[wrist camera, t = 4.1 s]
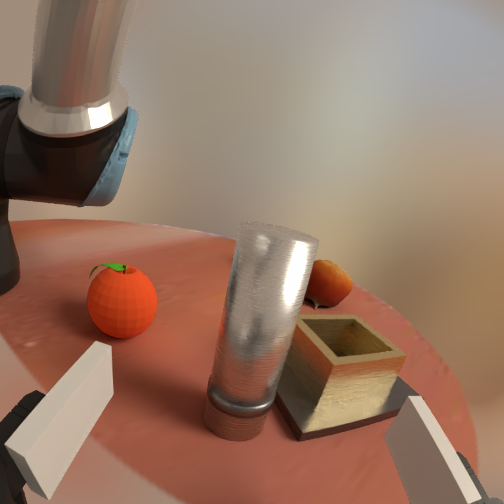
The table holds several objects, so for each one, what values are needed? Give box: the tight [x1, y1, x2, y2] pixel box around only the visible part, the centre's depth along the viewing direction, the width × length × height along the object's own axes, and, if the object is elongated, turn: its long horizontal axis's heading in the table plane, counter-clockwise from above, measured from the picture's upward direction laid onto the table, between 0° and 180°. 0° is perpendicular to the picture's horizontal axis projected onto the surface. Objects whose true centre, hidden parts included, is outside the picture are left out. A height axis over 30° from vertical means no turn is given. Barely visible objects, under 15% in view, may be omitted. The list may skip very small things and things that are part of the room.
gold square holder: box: [274, 314, 424, 441], centre depth 27 cm, size 14×14×5 cm
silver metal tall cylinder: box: [204, 222, 319, 441], centre depth 18 cm, size 5×5×14 cm
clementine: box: [87, 263, 157, 338], centre depth 27 cm, size 8×7×7 cm
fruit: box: [304, 260, 353, 310], centre depth 47 cm, size 8×8×8 cm
